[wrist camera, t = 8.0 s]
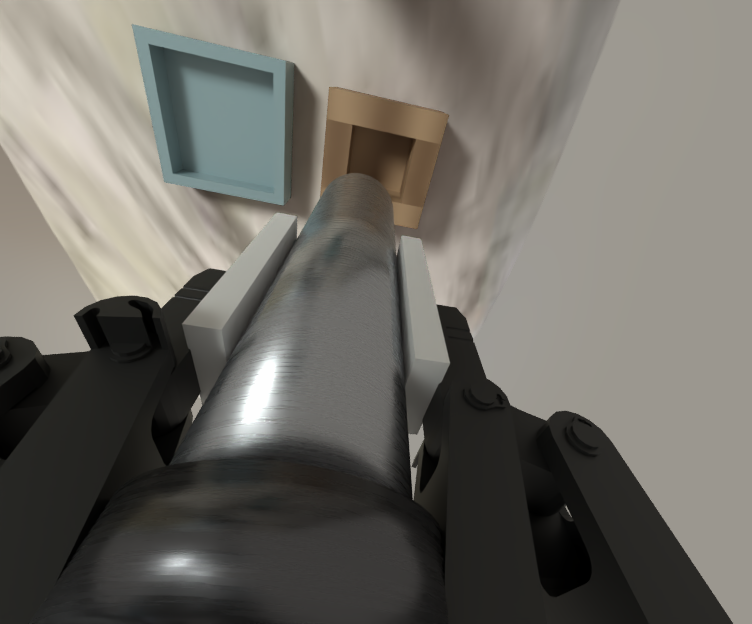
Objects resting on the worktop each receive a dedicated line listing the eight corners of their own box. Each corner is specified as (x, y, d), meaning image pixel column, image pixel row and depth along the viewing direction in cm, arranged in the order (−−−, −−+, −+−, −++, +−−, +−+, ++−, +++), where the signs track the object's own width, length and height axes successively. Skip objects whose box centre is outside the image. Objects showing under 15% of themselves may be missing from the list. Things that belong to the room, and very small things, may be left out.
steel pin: (310, 244, 18) (114, 667, 5) (315, 155, 15) (-113, 594, 2) (390, 259, 18) (404, 682, 5) (410, 174, 16) (538, 638, 3)
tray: (180, 175, 34) (164, 182, 31) (154, 29, 27) (131, 24, 24) (290, 197, 35) (283, 205, 32) (294, 63, 28) (285, 60, 25)
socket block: (326, 195, 34) (319, 209, 30) (337, 87, 29) (329, 87, 25) (413, 212, 35) (417, 229, 31) (440, 111, 30) (449, 115, 26)
